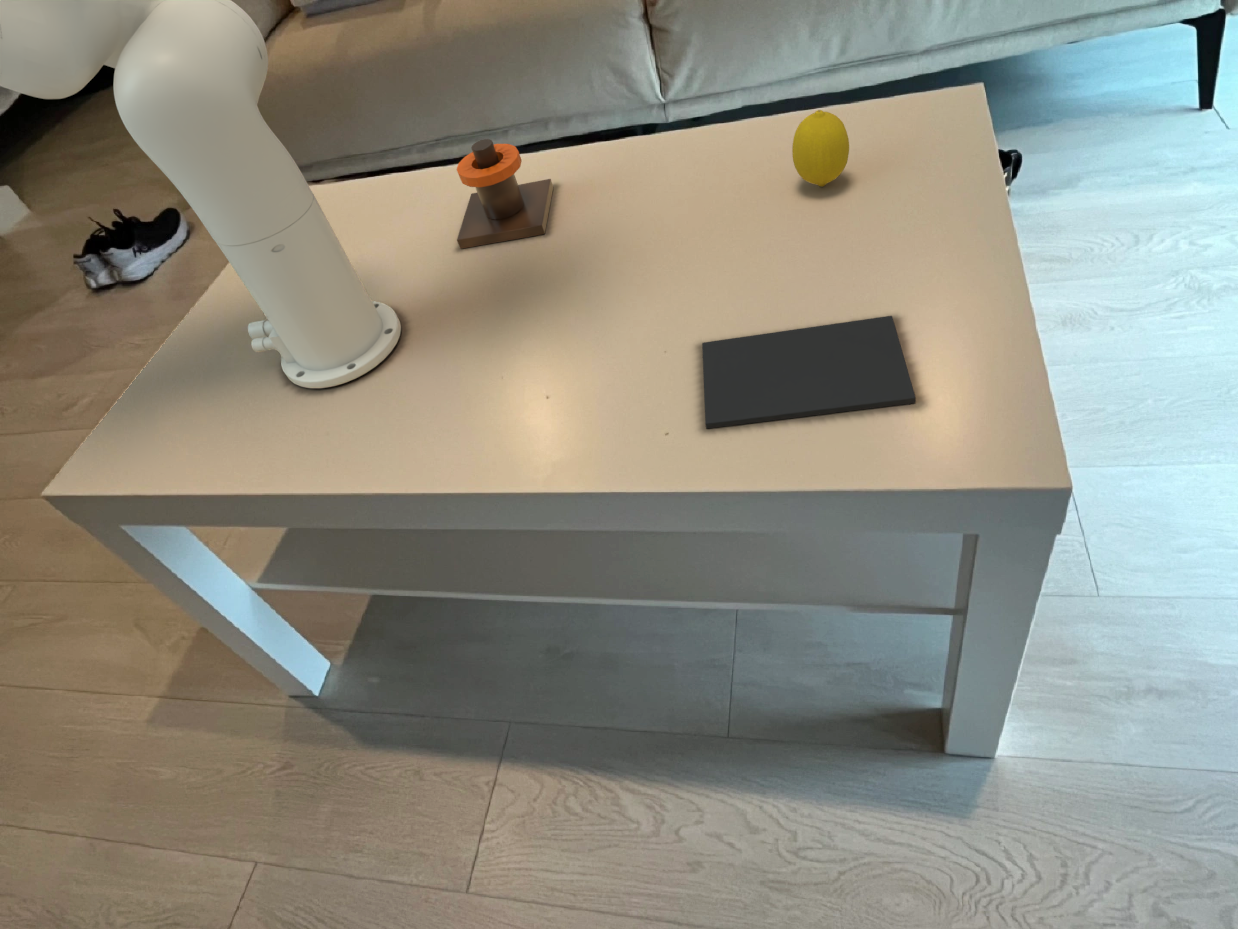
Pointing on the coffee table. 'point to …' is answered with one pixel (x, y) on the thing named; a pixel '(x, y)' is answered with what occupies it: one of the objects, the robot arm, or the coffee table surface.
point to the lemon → (820, 148)
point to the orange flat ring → (494, 174)
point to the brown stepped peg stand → (503, 206)
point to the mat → (805, 373)
